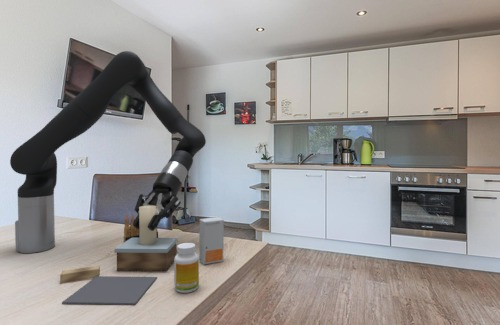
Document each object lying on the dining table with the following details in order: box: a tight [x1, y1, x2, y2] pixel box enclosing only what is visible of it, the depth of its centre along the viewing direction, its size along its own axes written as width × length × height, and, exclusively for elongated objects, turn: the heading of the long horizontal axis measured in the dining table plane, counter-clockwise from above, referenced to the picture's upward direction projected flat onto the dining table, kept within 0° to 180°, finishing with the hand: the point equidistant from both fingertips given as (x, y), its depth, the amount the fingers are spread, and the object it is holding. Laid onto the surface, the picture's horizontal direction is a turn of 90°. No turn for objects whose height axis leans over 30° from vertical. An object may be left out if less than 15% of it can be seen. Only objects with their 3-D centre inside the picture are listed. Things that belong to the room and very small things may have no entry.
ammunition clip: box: [123, 213, 159, 243], centre depth 88 cm, size 11×2×12 cm, turn 132°
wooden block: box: [59, 265, 101, 284], centre depth 67 cm, size 8×2×2 cm, turn 113°
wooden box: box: [116, 243, 178, 273], centre depth 76 cm, size 13×9×5 cm
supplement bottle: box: [173, 242, 200, 294], centre depth 62 cm, size 5×5×10 cm
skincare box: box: [198, 216, 225, 265], centre depth 78 cm, size 6×4×12 cm
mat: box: [61, 275, 158, 306], centre depth 61 cm, size 15×12×1 cm
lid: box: [114, 205, 179, 254], centre depth 76 cm, size 14×10×11 cm
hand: (143, 228), depth 74 cm, fingers closed on lid, 4 cm apart
